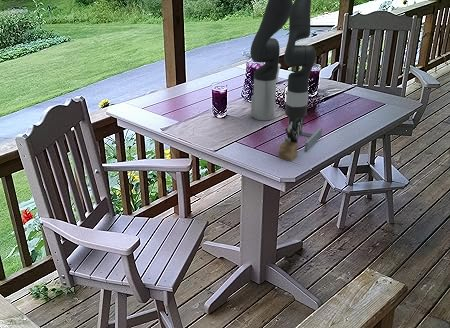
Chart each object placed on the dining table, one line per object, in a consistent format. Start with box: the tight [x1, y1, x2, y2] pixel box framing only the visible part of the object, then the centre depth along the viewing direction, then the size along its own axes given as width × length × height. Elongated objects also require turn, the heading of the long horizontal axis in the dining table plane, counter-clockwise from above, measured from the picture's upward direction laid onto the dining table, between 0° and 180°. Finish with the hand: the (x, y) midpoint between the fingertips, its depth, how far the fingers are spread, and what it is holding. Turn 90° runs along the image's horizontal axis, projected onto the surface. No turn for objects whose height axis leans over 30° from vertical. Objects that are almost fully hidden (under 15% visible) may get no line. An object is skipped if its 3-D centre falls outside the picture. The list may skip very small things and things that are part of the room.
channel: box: [284, 125, 323, 153], centre depth 197 cm, size 9×16×4 cm, turn 152°
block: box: [278, 140, 299, 162], centre depth 184 cm, size 5×5×5 cm
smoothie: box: [276, 63, 282, 84], centre depth 259 cm, size 6×6×14 cm
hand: (293, 146), depth 188 cm, fingers closed
